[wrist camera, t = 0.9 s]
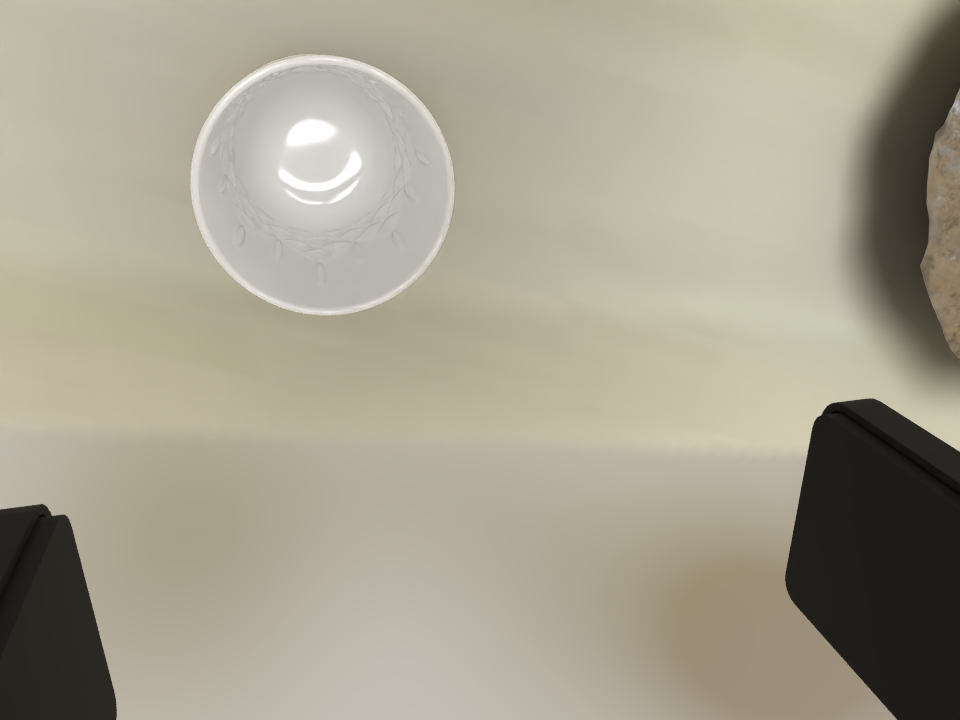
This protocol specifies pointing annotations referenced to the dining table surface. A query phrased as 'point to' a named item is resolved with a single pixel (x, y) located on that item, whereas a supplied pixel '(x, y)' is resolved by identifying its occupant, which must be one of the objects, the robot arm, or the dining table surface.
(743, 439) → the dining table surface
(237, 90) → the white cup
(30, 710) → the robot arm
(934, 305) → the stone bowl
